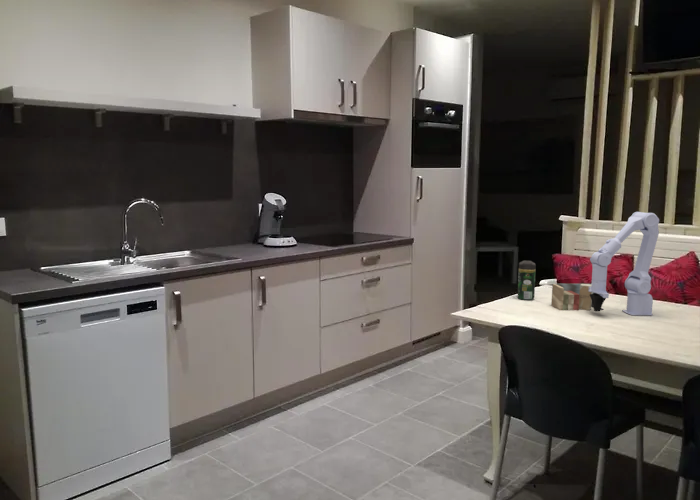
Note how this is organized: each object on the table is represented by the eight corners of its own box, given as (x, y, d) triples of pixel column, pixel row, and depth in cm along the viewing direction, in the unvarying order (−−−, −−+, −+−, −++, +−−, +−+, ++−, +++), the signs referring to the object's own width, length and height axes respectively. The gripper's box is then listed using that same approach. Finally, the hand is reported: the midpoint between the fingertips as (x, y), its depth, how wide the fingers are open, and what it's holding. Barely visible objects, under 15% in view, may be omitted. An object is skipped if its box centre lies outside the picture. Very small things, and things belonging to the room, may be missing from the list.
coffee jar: (517, 296, 274) (518, 259, 272) (533, 297, 272) (535, 260, 269) (517, 300, 265) (519, 261, 262) (534, 301, 263) (536, 262, 260)
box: (577, 309, 247) (579, 284, 246) (579, 307, 251) (580, 283, 249) (590, 310, 244) (592, 286, 243) (591, 308, 248) (593, 284, 247)
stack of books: (593, 305, 255) (594, 283, 254) (603, 310, 245) (605, 288, 244) (550, 304, 255) (551, 283, 254) (559, 310, 245) (560, 288, 243)
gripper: (582, 276, 242) (580, 307, 244) (597, 283, 228) (595, 315, 230) (598, 277, 242) (596, 307, 244) (614, 283, 228) (612, 315, 230)
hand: (597, 311), depth 237 cm, fingers closed
